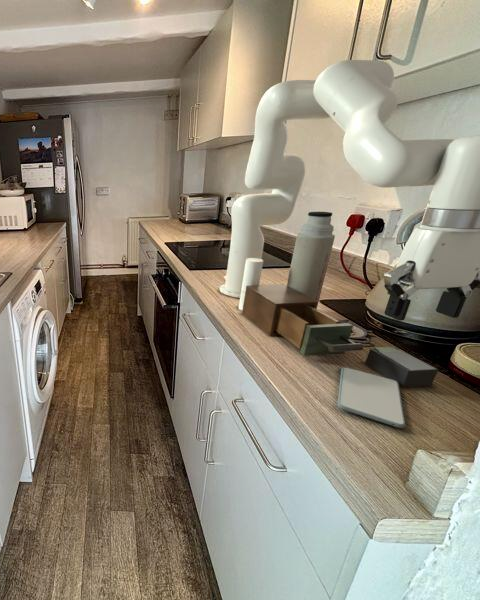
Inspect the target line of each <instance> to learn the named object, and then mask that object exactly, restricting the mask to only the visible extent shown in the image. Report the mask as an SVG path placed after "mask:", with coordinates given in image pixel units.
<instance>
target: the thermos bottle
mask: <svg viewBox="0 0 480 600" xmlns="http://www.w3.org/2000/svg"><path fill="white" fill-rule="evenodd" d="M307 216H308V217H307V220H306V223H304V224H302V225H301V227H300V232H298V233H296V238H295V244H294V248H293V252H292V257H291V263H290V267H289V272H288V277H287V283H286V286H287V287H289V288H291V289H293V290H295V291H297V292H299V293H301V294H303V295H305V296H307V297H309V298H311V299H313V300H315V301H317V302H318V303H317V307H316V309H317V310H318V305H319V302H320V297H321V295H322V290H323V285H324V282H325V277H326V274H327V270H328V266H329V263H330V258H331V255H332V254H331V253H332V249H333V245H334V243H335V238H336V235H335V234H333V232H334V231H335V230H334V229H335V228H334V225H332V224H331V222H332V216H333V212H330V211H309V212H308V213H307Z"/></svg>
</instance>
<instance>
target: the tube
mask: <svg viewBox="0 0 480 600" xmlns="http://www.w3.org/2000/svg"><path fill="white" fill-rule="evenodd" d="M263 265H264V259H262V258H261V259H258V258H247V259H246V263H245V270H244V276H243V283H242V289H241V296H240V298H239V302H238V309H239V310H240V311H241V312H242V311H243V304H244V298H245V292H246V286H251V285H260V283H261V276H262V270H263Z"/></svg>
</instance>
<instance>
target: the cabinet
mask: <svg viewBox="0 0 480 600" xmlns="http://www.w3.org/2000/svg"><path fill="white" fill-rule="evenodd" d="M317 303H318V304H319V302H317V301H315V300H313V299H311V298H309V297H307V296H305V295H303V294H301V293H299V292H297V291H295V290H293V289H291V288H289V287H287V285H286V284H283V283H275V284H273V283H271V284H259V285H251V286H246V292H245V298H244V304H243V311H242V310H241V315H243V316H244V317H245V318H246V319H248V320H249V321H250V322H252V323H253V324H254V325H256V326H257V328H259V329H260V330H262V331H263V332H264V333H266V334H267V335H268V336H269V337H273V336H281V335H280V334H279V333H278V332H276V331H275V330H274V327H275V323H276V318H277V313H278V308H279V307H281V306H301V305H310V306H312V307H314V308H315V309H316V307H317V308H318V306H317Z"/></svg>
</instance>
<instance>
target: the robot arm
mask: <svg viewBox="0 0 480 600" xmlns="http://www.w3.org/2000/svg"><path fill="white" fill-rule="evenodd" d="M394 79H395V72H394V68H393V67H392V66H391V64H389V63H388V62H386V61H385V60H379V59H376V60H375V59H347V60H341V61H336V62H335V63H333V64H331V65H329V66H328V67H326V68H325V69H324V70H323V71H321V73H320V74H318V76H317V78H316V79H294V80H285V81H282V82H278V83H276V84H274V85H273V86H271V87H270V88H268V89H267V91H266V92H264V94H263V96H262V97H261V99H260V100H259V102H258V105H257V108H256V112H255V118H254V135H253V141H252V145H251V148H250V153H249V156H248V162H247V164H246V165H247V166H246V170H245V173H244V185H245V186H246V187H247V188H248V189H249V190H254V191H267V190H272V191H271V193H251V194H245V195H242V196H240V197H238V198H237V199H235V201H234V202H233V203H232V206H231V209H230V217H231V235H230V244H229V253H228V259H227V267H226V275H224V277H223V279H224V280H225V282H224V283H223V284H222V285H220V286H219V292H220V293H221V294H224V295H225V296H228V297H231V298H237V299H240V296H241V289H242V283H243V276H244V270H245V263H246V259H247V258H258V259H262V258H263V253H264V245H265V237H264V234H263V231H262V230H261V227H263V226H273V225H274V226H275V225H281V224H283V223H285V222H286V221H288V220H289V219H290V217H291V216H292V214H293V212H294V209H295V206H296V204H297V201H298V197H299V195H300V192H301V188H302V186H303V183H304V179H305V176H306V164H305V161H304V159H303V158H302V157H301V156H300V155H298V154H293V153H286V150H287V146H288V141H289V130H288V126H287V124H286V122H288V121H319V120H326V119H332V120H333V121H334V122H335V124H337V125H338V127H339V128H340V129H341V130H342V131H343V132H344V136H343V140H342V149H343V150H342V151H343V155H344V159H345V160H346V162H347V164H349V165H350V166H351V168H352V169H353V170H354V171H355V172H356V174H357V175H358V176H359V177H361V179H362V180H363V181H365V182H366V183H368V184H370V185H372V186H374V187H377V188H382V189H383V188H384V189H387V188H405V187H406V188H407V187H428V186H432V189H431V193H430V196H429V199H428V202H427V205H426V207H425V210H424V214H423V216H422V220H421V222H420V225H419V226H418V227H415V228H414V230H413V231H412V233H411V234H410V236H409V238H408V240H407V241H406V243H405V245H404V247H403V249H402V251H401V253H400V256H399V258H398V260H397V263H396V266H395V268H392V269H391V270H389V271H387V272H384V273H383V275H382V277H383V281H384V285H383V286H384V288H385V290H386V291H387V292H386V293H387V295H389V297H388V301H387V303H386V307H385V310H384V313H383V314H384V315H385V316H387V317H389V318H392V319H394V320H396V321H398V322H399V321H400V322H401V321H404V320H405V319H406V316H407V313H408V310H409V308H410V306H411V301H412V300H411V299H409V298H410V297H411V296H412V295H414V294H415V293H417V291H419V290H430V289H432V290H433V289H435V290H436V289H446V290H443V291H442V293H441V296H440V298H439V301H438V303H437V306H436V308H435V311H436V312H437V313H438V314H442V315H444V316H447V317H450V318H452V319H456V318H459V317H460V314H461V312H462V309H463V307H464V305H465V303H466V300H467V297H470V296H471V295H472V294H473V291H474V290H475V289H476V288H478V287H479V286H480V134H479V135H477V134H476V135H469V136H463V137H459V138H456V139H451V138H448V139H447V138H446V139H445V138H441V139H440V138H437V139H433V138H432V139H429V138H427V139H405V140H404V139H401V138H400V137H399V136H397V134H395V133H394V132H393V131H392V130H391V129H389V128H388V126H387V125H385V123H386V122H388V121H389V120H390V118H391V117H392V116H393V115H394V113H395V111H396V110H397V108H398V105H399V97H398V95H397V94H396V93H395V92H394V91H393V90H391V88H392V86H393V83H394ZM405 287H407V288H405ZM403 288H405V289H403Z"/></svg>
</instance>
